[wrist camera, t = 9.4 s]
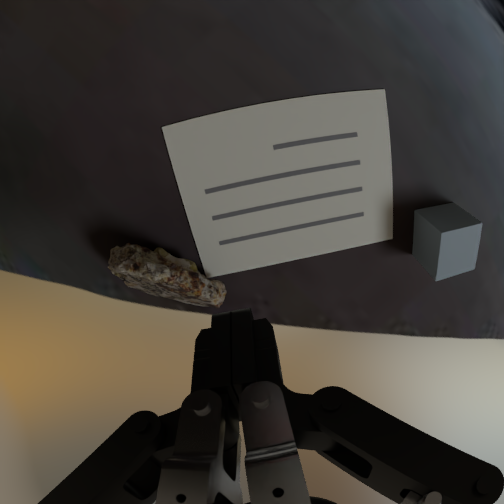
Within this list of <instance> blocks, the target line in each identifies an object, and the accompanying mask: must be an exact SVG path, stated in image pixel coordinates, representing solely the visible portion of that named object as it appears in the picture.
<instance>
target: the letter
mask: <svg viewBox="0 0 504 504" xmlns="http://www.w3.org/2000/svg"><path fill="white" fill-rule="evenodd" d="M162 130H163V134H164V138H165V141H166V145H167V149H168V152H169V156H170V159H171V163H172V167H173V170H174V174H175V177H176V180H177V184H178V187H179V191H180V194H181V198H182V201H183V204H184V208H185V211H186V214H187V217H188V221H189V224H190V227H191V230H192V234H193V237H194V240H195V243H196V246H197V249H198V252H199V256H200V259H201V262H202V265H203V268H204V271H205V274H206V277H207V278H209V277H214V276H219V275H224V274H229V273H234V272H239V271H244V270H249V269H254V268H259V267H263V266H268V265H273V264H278V263H283V262H287V261H292V260H297V259H302V258H306V257H311V256H316V255H321V254H325V253H330V252H334V251H339V250H344V249H348V248H353V247H358V246H362V245H367V244H371V243H376V242H380V241H385V240H389V239H393V187H392V163H391V147H390V134H389V123H388V113H387V104H386V96H385V89H379V90H363V91H351V92H340V93H331V94H322V95H314V96H306V97H299V98H292V99H286V100H279V101H273V102H268V103H262V104H257V105H251V106H246V107H241V108H237V109H232V110H227V111H223V112H218V113H214V114H210V115H206V116H202V117H198V118H194V119H190V120H186V121H182V122H178V123H175V124H171V125H168V126H164V127H162Z"/></svg>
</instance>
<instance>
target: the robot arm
mask: <svg viewBox="0 0 504 504" xmlns="http://www.w3.org/2000/svg"><path fill="white" fill-rule="evenodd" d="M239 421H242V425H243V433H244V439H245V445H246V456H245V469H246V476H247V482H248V489H249V495H250V501H251V502H249V503H246V504H337V503H335V502H332V501H329V500H327V499H323V498H318V497H311V496H309V494H308V490H307V486H306V482H305V478H304V474H303V470H302V467H301V463H300V459H299V455H298V451H297V448H298V449H307V450H315V451H316V452H317V453H318V454H320V455H321V456H323V457H324V458H326V459H327V460H329V461H330V462H331V463H333V464H335V465H336V466H338V467H339V468H341V469H342V470H343V471H345V472H347V473H348V474H350V475H351V476H353V477H355V478H356V479H357V480H359V481H361V482H362V483H364V484H365V485H367V486H369V487H371V488H372V489H374V490H375V491H377V492H379V493H380V494H382V495H384V496H386V497H388V498H389V499H391V500H393V501H395V502H396V503H398V504H493V503H495V501H497V500H498V498H499V497H500V495H501V493H502V491H503V488H504V477H503V474H502V473H501V471H500V470H499V469H498V468H497V467H495V466H494V465H491V464H489V463H487V462H485V461H482V460H480V459H478V458H476V457H474V456H472V455H469V454H467V453H465V452H463V451H461V450H459V449H456V448H455V447H452V446H450V445H448V444H446V443H444V442H442V441H440V440H438V439H436V438H434V437H432V436H430V435H428V434H426V433H424V432H422V431H420V430H418V429H416V428H415V427H413V426H411V425H409V424H407V423H405V422H403V421H401V420H399V419H397V418H396V417H394V416H392V415H390V414H388V413H386V412H385V411H383V410H381V409H379V408H377V407H375V406H374V405H372V404H370V403H368V402H367V401H365V400H363V399H361V398H359V397H358V396H356V395H354V394H352V393H351V392H349V391H347V390H345V389H343V388H341V387H336V386H330V387H325V388H322V389H320V390H318V391H317V392H315V393H314V394H313V395H311V394H300V393H295V392H293V391H291V390H289V389H287V387H285V385H284V384H283V379H282V372H281V366H280V360H279V354H278V349H277V345H276V340H275V335H274V330H273V326H272V325H271V324H270V323H269V321H268V320H267V319H266V318H264V319H258V320H254V319H253V315H252V311H251V308H245V309H240V310H235V311H232V312H231V311H229V312H224V313H218V314H213V315H212V322H211V328H208V329H202V330H201V331H200V333H199V335H198V336H197V338H196V341H195V352H194V362H193V373H192V385H191V393H190V394H189V395H188V396H187V397H186V398H185V400H184V401H183V403H182V406H181V408H179V409H177V410H175V411H173V412H170V413H167V414H164V415H162V416H159V417H158V416H157V415H156V414H155V413H153V412H151V411H139V412H137V413H135V414H133V415H131V416H130V417H129V418H128V419H127V420H126V421H125V422H124V423H123V424H122V425H121V426H120V427H119V428H118V429H117V430H116V431H115V432H114V433H113V434H112V435H111V436H110V437H109V438H108V439H106V440H105V441H104V443H102V444H101V445H100V446H99V447H98V448H97V449H96V450H95V451H94V452H93V453H92V454H91V455H90V456H89V457H88V458H87V459H85V461H84V462H82V463H81V464H80V465H79V466H78V467H77V468H76V469H75V470H74V471H73V472H72V473H71V474H69V475H68V476H67V477H66V478H65V479H64V480H63V481H62V482H61V483H60V484H59V485H58V486H56V487H55V488H54V489H53V490H52V491H51V492H50V493H49V494H48V495H47V496H46V497H45V498H43V499H42V500H41V501H40V502H39V503H38V504H153V503H154V502H155V500H156V504H243V499H242V492H241V488H240V457H241V456H240V455H241V436H240V434H239Z"/></svg>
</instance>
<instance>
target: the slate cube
mask: <svg viewBox="0 0 504 504" xmlns="http://www.w3.org/2000/svg"><path fill="white" fill-rule="evenodd" d="M481 229H482V222H480V221H479V220H478V219H476V218H475V217H473V216H472V215H471V214H469V213H468V212H466V211H465V210H464V209H462V208H461V207H459V206H458V205H456V204H455V203H454V202H453V203H448V204H443V205H438V206H433V207H428V208H423V209H418V210H414V234H413V251H412V255H413V256H414V257H415V258H416V259H417V261H418V262H419V263H420V264H421V265H422V266H423V267H424V269H425V270H426V271H427V272H428V273H429V274H430V275H431V277H432V278H433V279H434V280H435V281H438V280H442V279H445V278H448V277H451V276H455V275H458V274H461V273H464V272H467V271H470V270H473V269H475V264H476V259H477V254H478V248H479V242H480V236H481Z"/></svg>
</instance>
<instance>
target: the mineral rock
mask: <svg viewBox="0 0 504 504" xmlns="http://www.w3.org/2000/svg"><path fill="white" fill-rule="evenodd" d="M108 268H109V269H111V272H112V274H115V275H116V276H118V277H119V278H120V279H122V280H123V281H124V283H125V284H126V285H127V286H128V287H131V288H135V289H138V290H140V291H142V292H146V293H148V294H152V295H155V296H162V297H167V298H170V299H174V300H177V301H180V302H184V303H189V304H193V305H199V306H210V307H214V308H219V307H220V305H221V304H222V302H223V301H224V298H225V294H226V290H225V286H224V283H223V282H221V281H219V280H217V279H213V280H209V279H207V277H206V276H204V275H203V274H200V273H199V272H198V271H197V267H196V264H195V263H194V262H192V261H190V260H188V259H180V258H175V257H173V256H172V255H171V254H170V253H167V252H166V251H165V250H164V249H162V248H156V249H155V250H154V251H151V250H149V249H148V248H146V247H141V246H140V245H137V244H136V245H131V244H130V243H127V244H125V245H124V246H123V247H119V246H117V245H116V247H114V248H112V249H111V250H110V259H109V266H108Z"/></svg>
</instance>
